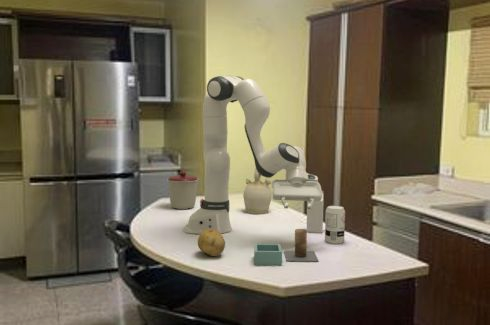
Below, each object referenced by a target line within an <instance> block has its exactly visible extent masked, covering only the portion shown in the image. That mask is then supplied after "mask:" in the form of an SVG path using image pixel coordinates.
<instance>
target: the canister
mask: <svg viewBox="0 0 490 325" xmlns="http://www.w3.org/2000/svg"><path fill="white" fill-rule="evenodd" d="M199 180H200V178H199V177H197V176H194V175H189V174H188V175H187V172H186V171H185V170H181V171H180V172H179V174H178V175H172V176H169V177H168V178H167V179H166V182H167V186H168V194H169V201H170V205H171V207H172V208H173V209H175V208H177V209H176V210H189V209H188V208H190V209H193V208H194V207H195V205H196V199H197V193H198V192H197V191H198V183H199ZM192 207H193V208H192Z"/></svg>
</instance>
